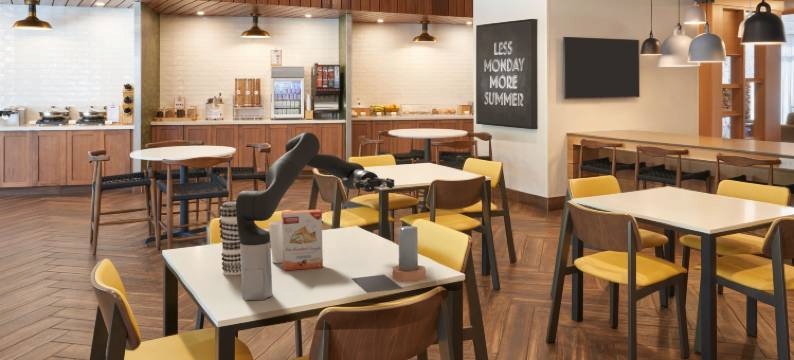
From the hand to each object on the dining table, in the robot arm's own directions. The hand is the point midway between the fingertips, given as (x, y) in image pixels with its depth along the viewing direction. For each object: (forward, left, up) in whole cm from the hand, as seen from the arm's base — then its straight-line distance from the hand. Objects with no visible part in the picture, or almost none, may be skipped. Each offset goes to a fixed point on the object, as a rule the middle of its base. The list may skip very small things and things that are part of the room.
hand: (380, 186), depth 238 cm
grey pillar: (-13, -9, -26) cm, 31 cm away
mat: (-20, +2, -30) cm, 36 cm away
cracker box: (+4, +29, -30) cm, 42 cm away
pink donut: (-13, -9, -30) cm, 34 cm away
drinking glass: (+13, +39, -30) cm, 51 cm away
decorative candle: (0, +53, -30) cm, 61 cm away
